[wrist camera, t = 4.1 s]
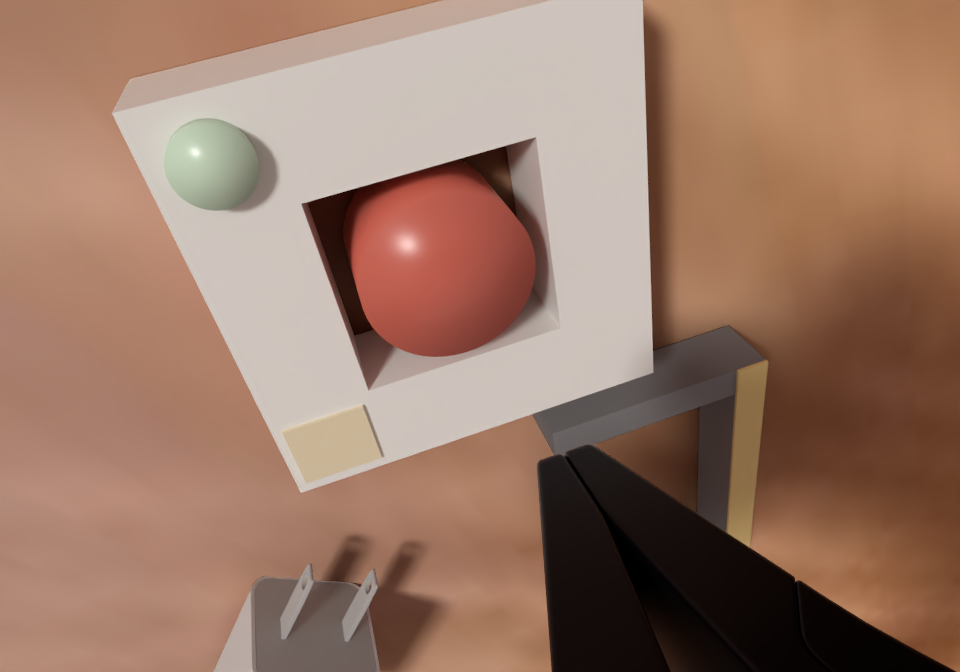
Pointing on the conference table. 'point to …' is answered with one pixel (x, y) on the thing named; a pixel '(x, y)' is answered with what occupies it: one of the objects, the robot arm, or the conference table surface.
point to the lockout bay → (677, 389)
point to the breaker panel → (391, 153)
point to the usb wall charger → (303, 627)
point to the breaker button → (438, 259)
